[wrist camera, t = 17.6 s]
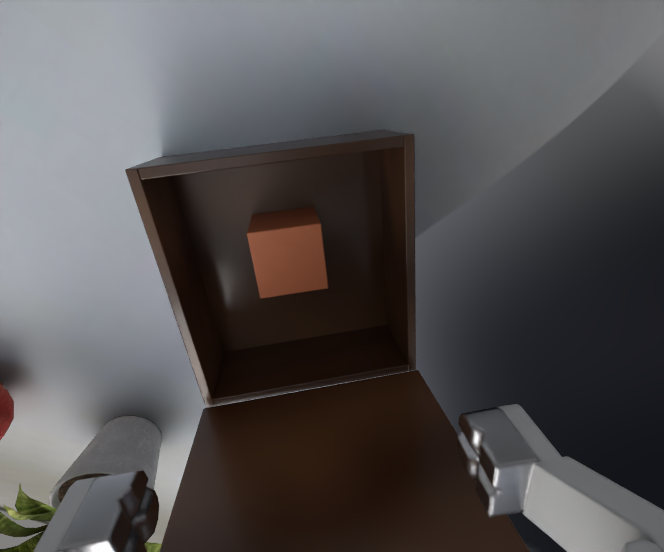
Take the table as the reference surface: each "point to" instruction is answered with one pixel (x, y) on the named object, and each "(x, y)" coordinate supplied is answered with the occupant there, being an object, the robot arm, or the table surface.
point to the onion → (5, 410)
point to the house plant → (92, 474)
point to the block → (287, 252)
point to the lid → (333, 476)
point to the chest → (299, 308)
